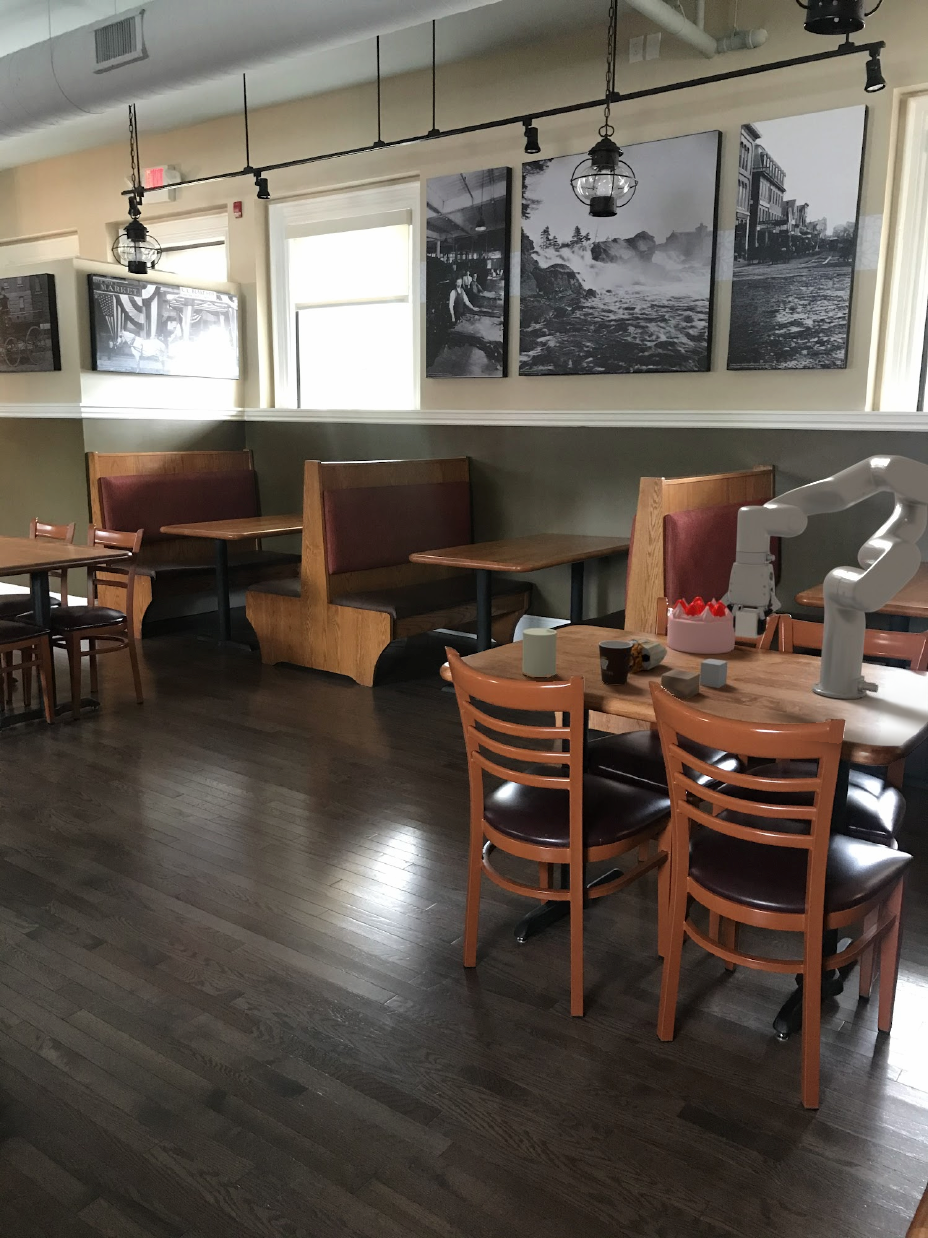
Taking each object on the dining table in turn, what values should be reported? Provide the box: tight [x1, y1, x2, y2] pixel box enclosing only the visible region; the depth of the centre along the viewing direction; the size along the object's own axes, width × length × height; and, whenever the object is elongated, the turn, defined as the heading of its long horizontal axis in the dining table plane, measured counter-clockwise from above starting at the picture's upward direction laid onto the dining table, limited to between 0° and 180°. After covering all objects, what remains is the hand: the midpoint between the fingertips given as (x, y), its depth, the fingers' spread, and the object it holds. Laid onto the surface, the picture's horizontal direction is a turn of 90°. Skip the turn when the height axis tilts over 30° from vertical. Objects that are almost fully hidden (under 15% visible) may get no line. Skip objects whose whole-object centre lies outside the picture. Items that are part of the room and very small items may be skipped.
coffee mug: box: [598, 640, 636, 685], centre depth 249 cm, size 12×9×10 cm
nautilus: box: [626, 637, 668, 675], centre depth 265 cm, size 8×22×15 cm
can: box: [521, 627, 558, 676], centre depth 258 cm, size 9×9×12 cm
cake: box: [666, 596, 736, 655], centre depth 290 cm, size 20×20×14 cm
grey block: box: [699, 658, 729, 689], centre depth 249 cm, size 5×5×6 cm
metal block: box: [660, 668, 700, 699], centre depth 241 cm, size 7×7×5 cm
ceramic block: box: [735, 607, 764, 639], centre depth 234 cm, size 5×5×6 cm
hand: (749, 632), depth 234 cm, fingers closed on ceramic block, 5 cm apart
